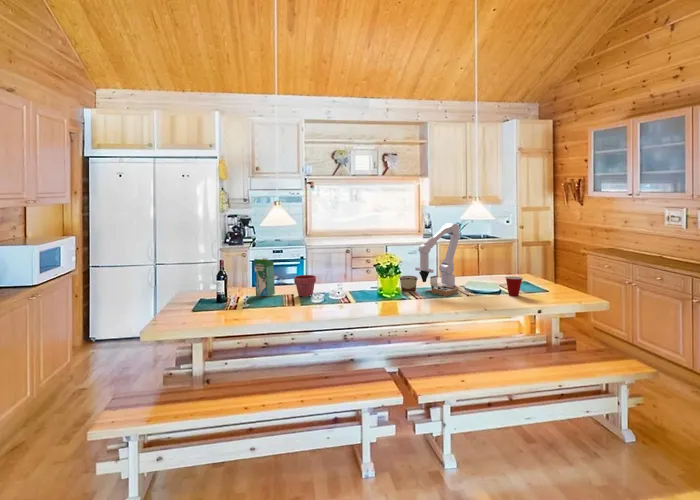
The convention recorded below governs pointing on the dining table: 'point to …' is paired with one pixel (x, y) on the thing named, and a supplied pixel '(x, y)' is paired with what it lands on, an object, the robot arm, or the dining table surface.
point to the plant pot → (305, 284)
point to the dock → (444, 291)
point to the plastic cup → (513, 285)
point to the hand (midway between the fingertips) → (424, 281)
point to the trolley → (434, 283)
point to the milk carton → (264, 277)
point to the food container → (408, 283)
